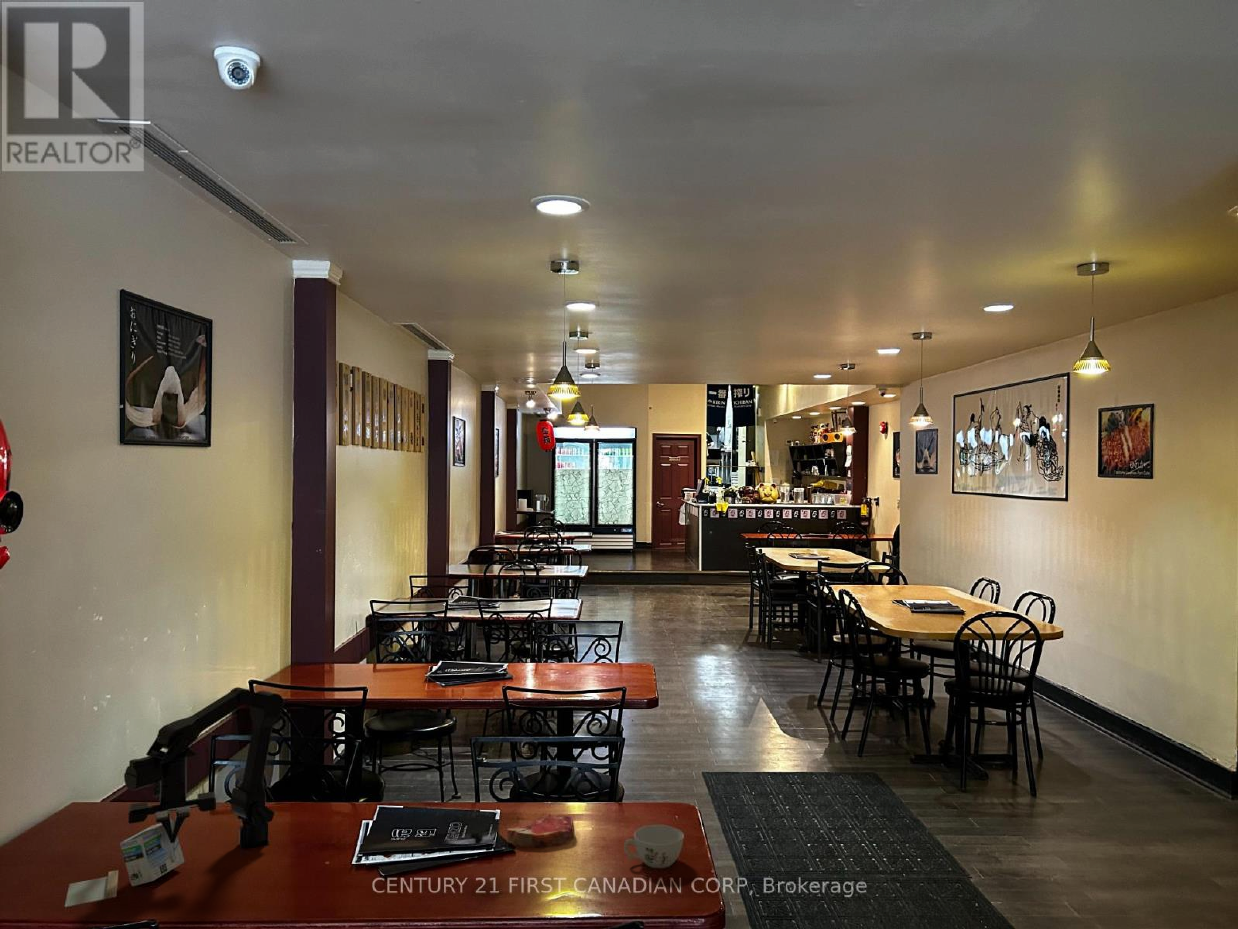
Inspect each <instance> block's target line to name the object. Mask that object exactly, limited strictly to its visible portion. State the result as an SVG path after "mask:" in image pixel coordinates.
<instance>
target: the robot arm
mask: <svg viewBox="0 0 1238 929" xmlns="http://www.w3.org/2000/svg"><path fill="white" fill-rule="evenodd" d="M284 704H285V701H284V698H283V696H281V694H279V693H277V692H275V693H274V692H272V691H266V690H258V691H257V692H255V691H251V690H249V689H247V688H244V687H239V686H237V687H234V688H231V690H230V691H229V692H227V693H226V694H225V695H223V696H221V697H219V698H218V699H217V700H214V701H213V702H211V703H210V704H209V705H207V706H205V707H203V708H202V709H201V710H199V711H197V712H196V713H194V714H192V715H191V716H187V717H185V718H181V719H177V720H175V721H174V720H173V721H172V722H169V723H167V724H165V725H163V726H162V727H161V728H160V729H159V730H158V733H157V735H156V738H155V739H154V741H153V743H152V744H151V745H150V747H149V749H148V750H147V752H146V754H145V755H146V756H144V757H140V758H134V759H131V760H129V762H128V763H129V765H128V766H127V767H126V769H125V772H124V775H123V778H124V784H125V787H126V788H127V789H128V790H129V791H131V792H132V791H136V790H139V789H143V788H145V787H146V788H147V787H151V786H152V793H153V794H152V797H153V798H155V797H159V799H158V800H159V804H155V805H148V801H145V802H138V803H137V802H136V803H132V804H131V805H130V806H129V807H128V819H127V820H128V824H136V823H137V824H138V823H141V822H142V823H143V822H145V821H146V819H147V818H148V816H149V815H155V823H161V824H162V825H163V827H164V828H165V830H166V832H167V835H168V837H169V840H170V843H174V842H175V840H176V837H178V834H179V832H180V830H181V827H182V826H183V823H184V822H185V820H186V819H187V818H190V816H191V811H190V810H191V809H193V808H198V810H199V811H200V812H210V811H214V810H216V809H217V797H216V793H214V791H207V792H202V793H197V798H193V799H187V773H188V772H187V770H188V769H187V767H188V766H187V765H188V764H187V762H188V760H187V758H190V757H194V756H196V754H197V752H196V751H193V750H192V749H191V748H190V746H191V745H192V744H194V743H195V742H196V741H197V739H198V738H199V737H200V735H201V734H202V732H204V731H205V730H207V729H209V728H210V727H211V726H212V725H215V723H217V722H219V721H220V720H222V719H224V718H225V717H227V716H228V715H230V714H231V713H233V712H234V711H236V710H238V709H239V708H241V707H242V706H248V707H249V716H250V719H251V723H252V730H251V733H250V734H251V735H250V739H249V740H250V741H249V745H248V751H247V756H246V762H245V768H244V772H243V777H242V778H243V779H242V781H241V783H240V784H239V786H237V787H233V788H232V789H231V790H232V791H231V798H230V801H229V803H228V804H229V805H230V810H231V811H232V813H233V814H234V815H236V818H237V820H240V821H241V825H240V826H239V827H238V828H239V829H238V837H239V838H238V843H239V846H241V849H242V850H243V851H246V850H250V849H256V848H260V847H266V846H269V845H270V841H269V823H270V822H272V821H273V819H274V816H275V812H274V811H273V810H271V809H270V808H269V807H268V806H266V802H267V801H266V799H267V798H266V796H267V795H266V792H265V787H264V782H263V781H264V775H265V769H266V765H267V764H266V763H267V759H268V753H269V748H270V742H271V737H272V732H273V728H274V726H275V724H276V723H277V722H278V720H279V719H280V717H281V715H282V711H283V709H284ZM162 749H165V750H166V751H163V750H162ZM170 812H175V816H174V821H173V822H174V829H173V835H172V827H171V820H172V819H171V813H170Z"/></svg>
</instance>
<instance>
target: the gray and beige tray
mask: <svg viewBox="0 0 1238 929" xmlns="http://www.w3.org/2000/svg"><path fill="white" fill-rule="evenodd" d="M118 884H119V870H118V869H117V870H112V871H108V876H104V877H99V878H93V879H89V880H84V881H83V880H82V881H78V882H73V883H69V885H68V889H67V892H66V893H67V894H66V899H65V903H64V908H67V907H73V906H77V905H82V904H86V903H87V904H88V903H92V902H98V901H101V900H103V901H104V900H107V899H112V898H117V892H118Z"/></svg>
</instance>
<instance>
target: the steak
mask: <svg viewBox="0 0 1238 929" xmlns="http://www.w3.org/2000/svg"><path fill="white" fill-rule="evenodd" d="M574 824H575V822H574V820H573V818H572V817H571V816H569V815H564V814H563V815H562V814H557V815H554V816H552V814H547V815H543V816H540V817H538V818H536V819H535V820H533V822H530V823H528V824H525V825H522V826H516V827H508V828H507V829H506V836H507V842H508V841H509V842H511V843H513V844H514V845H513V846H518V845H520V846H519V847H526V848H527V847H528V848H537V849H546V848H552V847H559V846H563V845H566V844H568V843H569V842H571V841H572V840H573V839H574V837H575V831H576V830H575V825H574Z"/></svg>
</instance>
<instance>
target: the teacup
mask: <svg viewBox="0 0 1238 929" xmlns="http://www.w3.org/2000/svg"><path fill="white" fill-rule="evenodd" d="M684 838H685V835H684V833H683V832H682V831H681V830H680V829H678V828H676V827H673V826H670V825H666V824H650V825H645V826H642V827H639V828H638V829H636V830H635V832H633V839H631V838H627V839H626V840H625V842H624V844H623V845H624V846H623V850H624V852H625V854H626V855H627V856H629V857H631V858H636V859H637V858H638V859H640V860H641V861H642V862H643V863H644V864H645V865H647V867H650V868H653V869H666V868H668V867H671V866H672V865H673V864H674V862H676V861H677V859H678V858H679V855H680V853H681V851H682V848H683V843H684ZM630 844H632V845H633V847H634V849H635V850H636V852H637V854H635V853H632V852H630V851H629V850H628V845H630Z"/></svg>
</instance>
